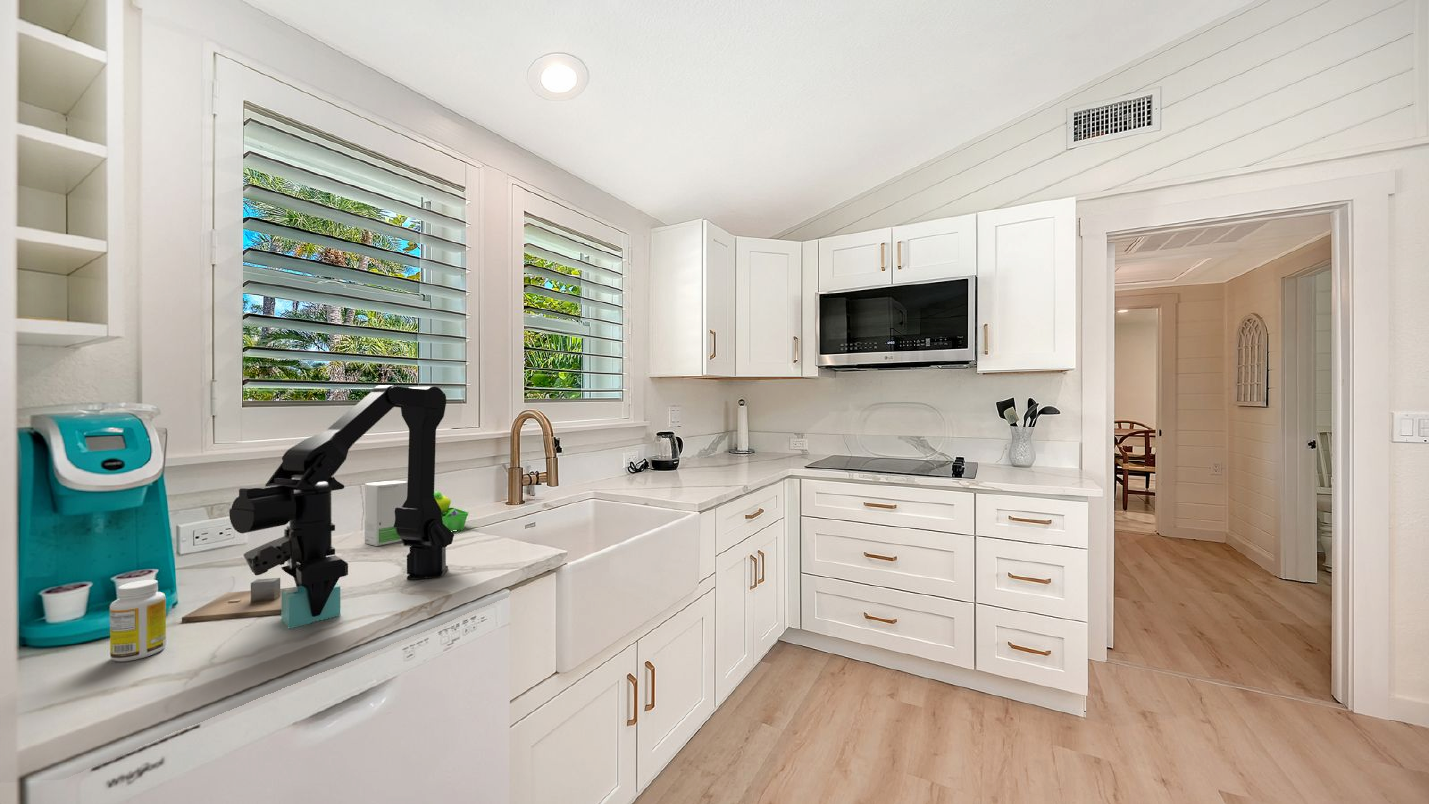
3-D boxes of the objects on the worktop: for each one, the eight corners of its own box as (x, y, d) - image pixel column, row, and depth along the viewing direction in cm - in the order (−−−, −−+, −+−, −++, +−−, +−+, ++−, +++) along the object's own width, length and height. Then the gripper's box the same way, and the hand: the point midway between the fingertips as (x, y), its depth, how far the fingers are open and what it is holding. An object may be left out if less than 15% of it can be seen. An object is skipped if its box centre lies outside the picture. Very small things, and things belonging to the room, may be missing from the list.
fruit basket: (470, 530, 153) (469, 490, 153) (437, 536, 146) (437, 494, 146) (453, 524, 160) (452, 486, 160) (421, 529, 154) (421, 490, 154)
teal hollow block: (331, 607, 96) (331, 575, 96) (340, 615, 92) (340, 582, 92) (281, 619, 90) (281, 586, 90) (289, 628, 87) (289, 594, 87)
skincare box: (375, 547, 135) (375, 485, 135) (362, 543, 139) (362, 483, 139) (409, 539, 142) (409, 481, 142) (396, 536, 146) (396, 479, 146)
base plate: (337, 588, 105) (337, 582, 105) (306, 611, 94) (306, 605, 94) (228, 596, 101) (228, 590, 101) (181, 622, 89) (181, 615, 89)
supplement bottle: (164, 642, 82) (163, 575, 82) (168, 653, 78) (167, 583, 78) (109, 655, 78) (108, 584, 78) (110, 667, 74) (110, 593, 74)
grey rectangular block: (280, 596, 99) (280, 577, 99) (274, 600, 97) (274, 581, 97) (257, 598, 98) (257, 579, 98) (250, 602, 96) (250, 582, 96)
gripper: (238, 519, 91) (239, 611, 91) (260, 538, 79) (260, 643, 79) (318, 509, 100) (318, 593, 100) (348, 524, 87) (349, 620, 87)
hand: (311, 611), depth 91 cm, fingers closed on teal hollow block, 6 cm apart
